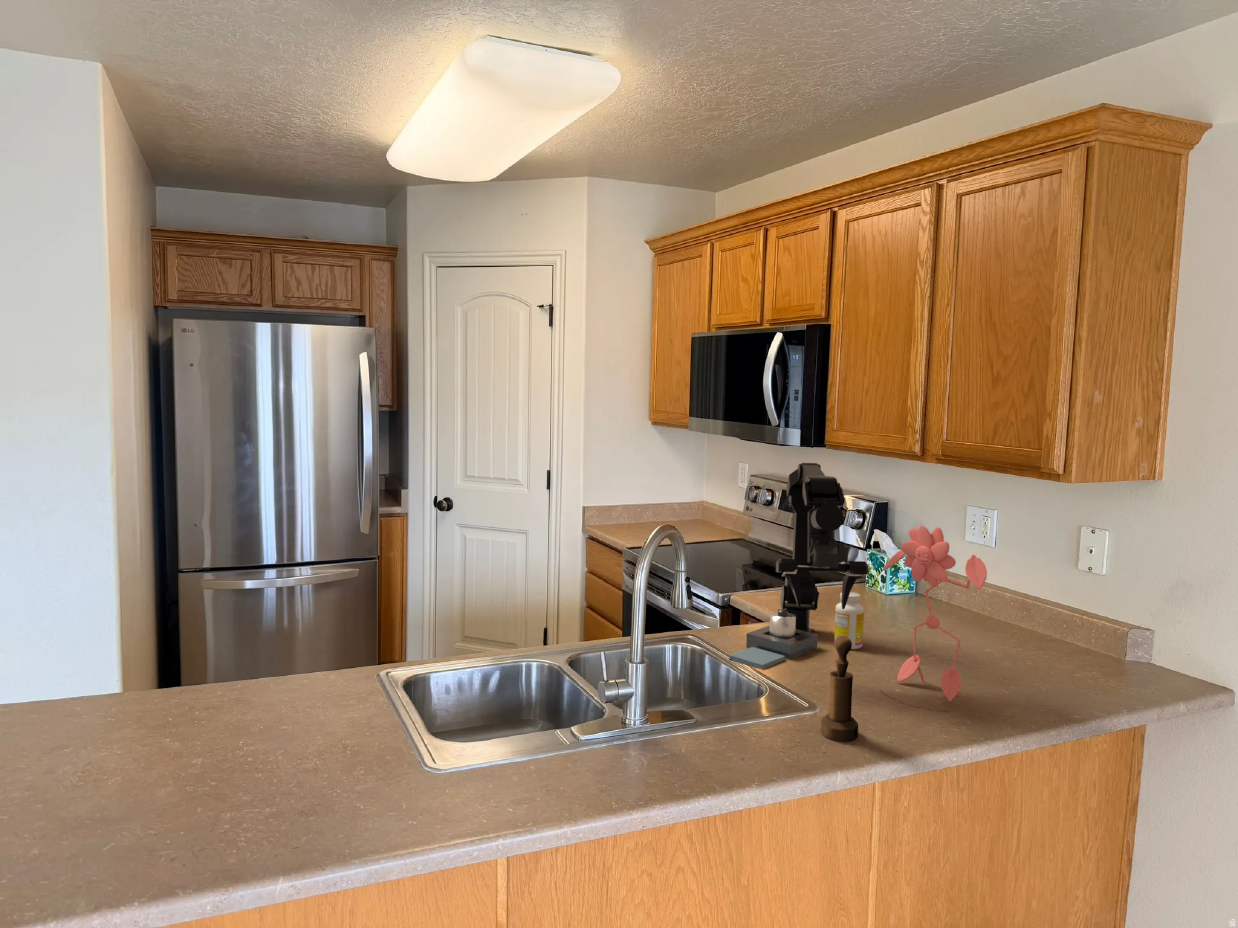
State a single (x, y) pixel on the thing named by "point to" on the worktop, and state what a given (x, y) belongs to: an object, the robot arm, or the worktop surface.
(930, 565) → the figurine
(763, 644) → the frame
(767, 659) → the mat
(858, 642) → the supplement bottle
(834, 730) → the mortar and pestle
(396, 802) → the worktop surface
